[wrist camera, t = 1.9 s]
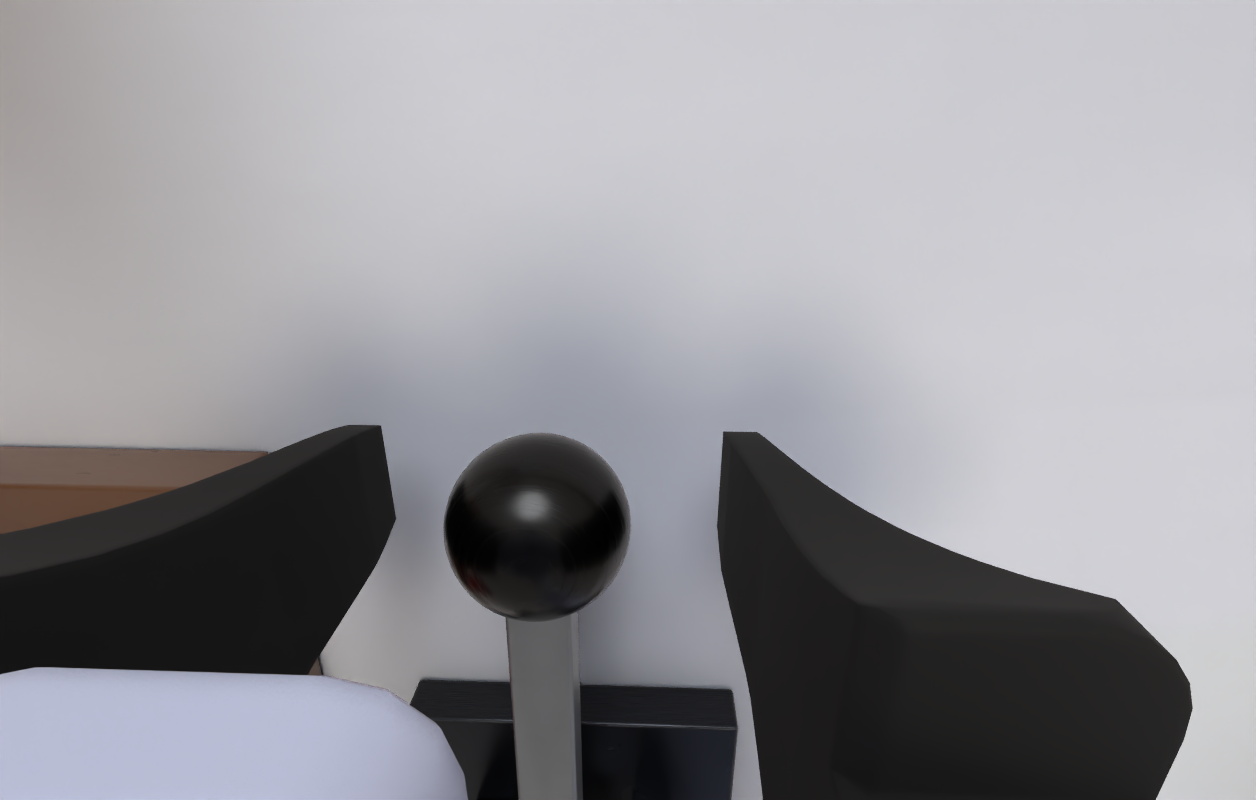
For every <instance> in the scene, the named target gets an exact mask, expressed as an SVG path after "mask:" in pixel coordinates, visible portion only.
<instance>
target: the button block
mask: <svg viewBox="0 0 1256 800" xmlns="http://www.w3.org/2000/svg"><path fill="white" fill-rule="evenodd" d="M267 454H268V452H258V451H206V450H155V449H103V448H51V447H0V534H3V533H8V532H13V531H18V530H23V529H28V528H33V527H37V526H41V525H45V524H50V523H54V522H58V521H62V520H66V519H70V518H75V517H79V516H83V515H87V514H91V513H95V512H100V511H104V510H108V509H111V508H115V507H119V506H122V505H125V504H129V503H132V502H136V501H139V500H142V499H146V498H149V497H152V496H156V495H159V494H162V493H165V492H168V491H171V490H174V489H177V488H180V487H183V486H186V485H189V484H192V483H194V482H197V481H200V480H202V479H205V478H208V477H210V476H213V475H216V474H218V473H221V472H224V471H226V470H229V469H232V468H234V467H237V466H240V465H242V464H245V463H248V462H250V461H253V460H255V459H257V458H260V457H262V456H265V455H267ZM308 675H314V676H322V673H321V669H320V665H319V661H318V658H317V660H316V661H315V663H314V665H313V667H312V668H311V670H310V672H309V674H308Z"/></svg>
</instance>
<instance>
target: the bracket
mask: <svg viewBox="0 0 1256 800" xmlns="http://www.w3.org/2000/svg"><path fill="white" fill-rule="evenodd" d="M410 705H411V706H412V707H414V708H415V709H416V710H418V711H419V712H421V713H422V714H424V715H425V716H427V717H428V718H429V719H431V720H432V721H434V722H435V723H436V724H437V725H438V726H439V727H440V728H441V730H442V732H443V734H444V736H445V738H446V740H447V742H448V744H449V746H450V747H451V749H452V751H453V753H454V755H455V757H456V759H457V761H458V763H459V765H460V767H461V769H462V771H463V773H464V775H465V783H466V790H467V797H468V800H519V797H518V783H517V770H516V756H515V742H514V728H513V714H512V700H511V687H510V683H508V682H475V681H443V680H421V681H420V682H419V684H418V687H417V689H416V691H415V694H414V696H413V698H412V701H411V703H410ZM580 706H581V744H582V782H583V800H731V796H732V786H733V775H734V765H735V754H736V744H737V733H738V725H737V718H736V711H735V704H734V697H733V692H732V691H731V690H729V689H701V688H669V687H636V686H604V685H580Z"/></svg>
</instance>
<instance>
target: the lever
mask: <svg viewBox="0 0 1256 800" xmlns="http://www.w3.org/2000/svg"><path fill="white" fill-rule="evenodd" d="M630 529H631V524H630V510H629V505H628V501H627V498H626V495H625V492H624V489H623V487H622V484H621V483H620V481H619V479H618V477H617V475H616V474H615V473H614V471H613V470H612V468H611V467H610V466H609V465H608V463H607V462H606V461H605V460H604V459H603V458H602V457H601V456H600V455H598V454H597V453H596V452H595V451H593V450H592V449H591V448H589V447H587V446H586V445H584V444H582V443H580V442H578V441H576V440H574V439H571V438H568V437H565V436H561V435H556V434H549V433H530V434H524V435H519V436H515V437H512V438H508V439H505V440H503V441H501V442H499V443H496V444H495V445H493V446H491V447H490V448H488V449H487V450H485V451H484V452H482V453H481V454H480V455H479V456H477V457H476V458H475V459H474V460H473V461H472V462H471V463H470V464H469V465H468V467H467V468H466V469H465V470H464V471H463V472H462V474H461V475H460V477H459V479H458V480H457V482H456V484H455V486H454V488H453V490H452V492H451V494H450V497H449V500H448V503H447V507H446V511H445V517H444V543H445V549H446V553H447V556H448V559H449V562H450V565H451V568H452V570H453V572H454V574H455V576H456V578H457V579H458V581H459V582H460V584H461V585H462V586H463V588H464V589H465V590H466V591H467V592H468V593H469V595H470V596H471V597H473V598H474V599H475V600H476V601H477V602H478V603H480V604H481V605H482V606H484V607H485V608H487V609H489V610H491V611H492V612H494V613H497V614H499V615H501V616H504V617H506V631H507V645H508V659H509V673H510V687H511V700H512V714H513V728H514V742H515V756H516V770H517V783H518V797H519V800H583V782H582V744H581V706H580V668H579V629H578V611H579V610H581V609H583V608H584V607H586V606H587V605H589V604H590V603H591V602H593V601H594V600H595V599H597V598H598V597H599V596H600V595H601V594H602V593H603V592H604V591H605V590H606V589H607V587H608V586H609V585H610V584H611V582H612V581H613V580H614V578H615V577H616V575H617V573H618V572H619V570H620V568H621V565H622V563H623V561H624V558H625V556H626V553H627V548H628V544H629V539H630Z"/></svg>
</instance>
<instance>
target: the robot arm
mask: <svg viewBox="0 0 1256 800" xmlns="http://www.w3.org/2000/svg"><path fill="white" fill-rule="evenodd" d="M395 520H396V516H395V510H394V503H393V497H392V491H391V485H390V478H389V472H388V466H387V460H386V454H385V447H384V441H383V435H382V429H381V426H380V425H347V426H342V427H338V428H335V429H332V430H329V431H326V432H323V433H320V434H317V435H315V436H312V437H309V438H307V439H304V440H302V441H299V442H297V443H294V444H292V445H289V446H287V447H284V448H282V449H280V450H277V451H275V452H272V453H270V454H267V455H265V456H262V457H260V458H257V459H255V460H253V461H250V462H248V463H245V464H242V465H240V466H237V467H234V468H232V469H229V470H226V471H224V472H221V473H218V474H216V475H213V476H210V477H208V478H205V479H202V480H200V481H197V482H194V483H192V484H189V485H186V486H183V487H180V488H177V489H174V490H171V491H168V492H165V493H162V494H159V495H156V496H152V497H149V498H146V499H142V500H139V501H136V502H132V503H129V504H125V505H122V506H119V507H115V508H111V509H108V510H104V511H100V512H95V513H91V514H87V515H83V516H79V517H75V518H70V519H66V520H62V521H58V522H54V523H50V524H45V525H41V526H37V527H33V528H28V529H23V530H18V531H13V532H8V533H3V534H0V800H468V797H467V790H466V783H465V775H464V773H463V771H462V769H461V767H460V765H459V763H458V761H457V759H456V757H455V755H454V753H453V751H452V749H451V747H450V746H449V744H448V742H447V740H446V738H445V736H444V734H443V732H442V730H441V728H440V727H439V726H438V725H437V724H436V723H435V722H434V721H432V720H431V719H429V718H428V717H427V716H425V715H424V714H422V713H421V712H419V711H418V710H416V709H415V708H414V707H412V706H411V705H409V704H408V703H406V702H405V701H403V700H402V699H401V698H399V697H398V696H396V695H395V694H393V693H392V692H390V691H389V690H387V689H383V688H379V687H374V686H370V685H365V684H361V683H356V682H352V681H348V680H343V679H339V678H334V677H330V676H314V675H308V674H309V672H310V670H311V668H312V667H313V665H314V663H315V661H316V660H317V658H318V657H319V655H320V653H321V652H322V650H323V649H324V647H325V646H326V644H327V642H328V641H329V639H330V638H331V636H332V635H333V633H334V631H335V630H336V628H337V627H338V625H339V624H340V622H341V620H342V619H343V617H344V616H345V614H346V613H347V611H348V609H349V608H350V606H351V605H352V603H353V602H354V600H355V598H356V597H357V595H358V594H359V592H360V590H361V589H362V587H363V586H364V584H365V582H366V581H367V579H368V577H369V576H370V574H371V573H372V571H373V569H374V568H375V566H376V564H377V562H378V560H379V558H380V556H381V554H382V551H383V549H384V547H385V545H386V543H387V540H388V538H389V535H390V533H391V530H392V528H393V525H394V523H395ZM717 530H718V541H719V552H720V561H721V571H722V575H723V580H724V584H725V588H726V593H727V597H728V601H729V606H730V610H731V614H732V618H733V622H734V626H735V631H736V635H737V639H738V643H739V647H740V651H741V656H742V660H743V664H744V668H745V672H746V677H747V682H748V688H749V693H750V698H751V705H752V713H753V721H754V729H755V736H756V744H757V752H758V760H759V769H760V777H761V786H762V794H763V800H1156V798H1157V796H1158V794H1159V791H1160V789H1161V787H1162V785H1163V783H1164V781H1165V779H1166V777H1167V774H1168V772H1169V770H1170V768H1171V766H1172V764H1173V762H1174V759H1175V757H1176V755H1177V753H1178V751H1179V749H1180V747H1181V745H1182V742H1183V740H1184V737H1185V734H1186V730H1187V726H1188V723H1189V719H1190V716H1191V712H1192V709H1193V708H1192V699H1191V690H1190V683H1189V681H1188V679H1187V677H1186V676H1185V674H1184V672H1183V670H1182V669H1181V667H1180V665H1179V664H1178V662H1177V660H1176V659H1175V658H1174V657H1173V656H1172V655H1171V654H1170V653H1169V652H1168V651H1167V650H1166V649H1165V648H1164V647H1163V646H1162V645H1161V644H1160V643H1159V642H1158V641H1157V640H1156V639H1155V638H1154V637H1153V636H1152V635H1151V634H1150V633H1149V632H1148V631H1147V630H1146V629H1145V628H1144V627H1143V626H1142V625H1141V624H1140V623H1139V622H1138V621H1137V620H1136V619H1135V618H1134V617H1133V616H1132V615H1131V614H1130V613H1129V612H1128V611H1127V610H1126V609H1125V608H1124V607H1123V606H1122V605H1121V604H1120V603H1119V602H1118V601H1117V600H1116V599H1113V598H1109V597H1105V596H1101V595H1097V594H1093V593H1089V592H1085V591H1081V590H1077V589H1073V588H1069V587H1065V586H1061V585H1057V584H1053V583H1049V582H1045V581H1041V580H1037V579H1033V578H1030V577H1027V576H1023V575H1020V574H1017V573H1014V572H1011V571H1008V570H1004V569H1001V568H998V567H995V566H992V565H989V564H986V563H983V562H980V561H977V560H974V559H972V558H969V557H966V556H963V555H961V554H958V553H955V552H953V551H950V550H948V549H945V548H943V547H941V546H938V545H936V544H934V543H931V542H929V541H926V540H924V539H922V538H919V537H917V536H915V535H912V534H910V533H908V532H906V531H904V530H902V529H900V528H898V527H896V526H894V525H892V524H890V523H888V522H886V521H884V520H882V519H881V518H879V517H877V516H875V515H873V514H871V513H869V512H867V511H866V510H864V509H862V508H861V507H859V506H857V505H855V504H854V503H852V502H850V501H849V500H847V499H846V498H844V497H843V496H841V495H840V494H838V493H837V492H835V491H834V490H832V489H831V488H829V487H828V486H826V485H825V484H823V483H822V482H821V481H819V480H818V479H816V478H815V477H814V476H812V475H811V474H810V473H808V472H807V471H806V470H804V469H803V468H802V467H801V466H799V465H798V464H797V463H795V462H794V461H793V460H792V459H790V458H789V457H788V456H787V455H785V454H784V453H783V452H782V451H781V450H779V449H778V448H777V447H776V446H774V445H773V444H772V443H771V442H770V441H768V440H767V439H766V438H765V437H763V436H762V435H760V434H759V433H757V432H723V446H722V461H721V476H720V491H719V506H718V521H717Z"/></svg>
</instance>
